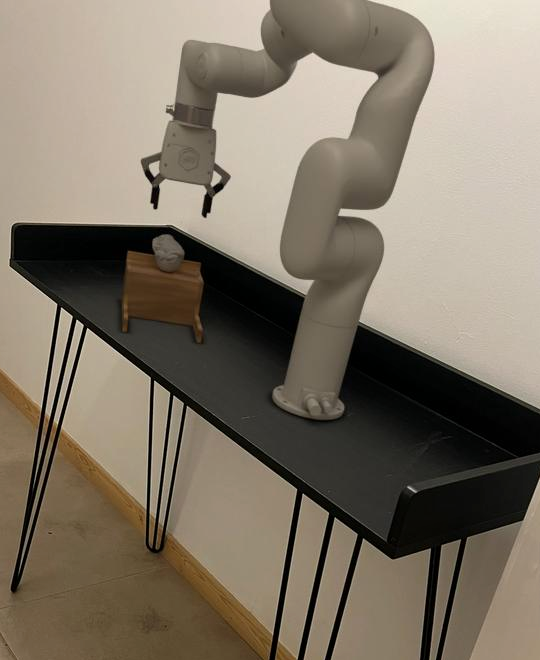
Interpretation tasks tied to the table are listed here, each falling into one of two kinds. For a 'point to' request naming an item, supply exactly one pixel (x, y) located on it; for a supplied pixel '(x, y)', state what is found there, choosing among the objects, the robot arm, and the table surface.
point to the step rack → (162, 292)
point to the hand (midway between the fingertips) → (179, 212)
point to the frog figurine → (167, 253)
